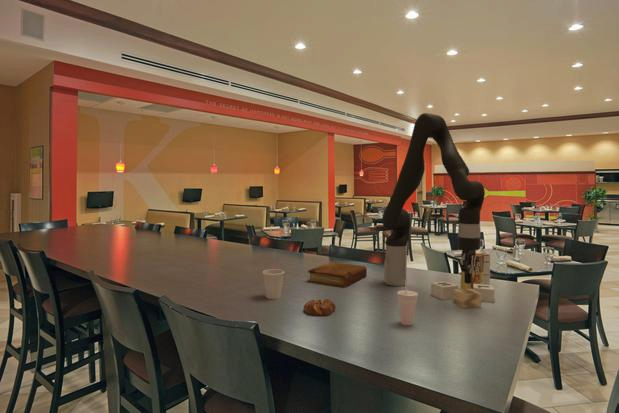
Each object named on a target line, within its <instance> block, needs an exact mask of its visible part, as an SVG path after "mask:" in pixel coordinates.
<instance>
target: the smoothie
mask: <svg viewBox="0 0 619 413" xmlns="http://www.w3.org/2000/svg"><path fill="white" fill-rule="evenodd" d="M397 297H398V306H399V307H398V308H399V315H400V324H401V325H404V324H405V325H404V326H413V325H414V320H415V312H416V306H417V299H418V298H419V293H418V292H417V291H414V290H413V291H412V290H409V289H408V279H407V278H406V279H405V285H404V290H403V289H402V290H398V291H397Z"/></svg>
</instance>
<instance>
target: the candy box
mask: <svg viewBox="0 0 619 413" xmlns="http://www.w3.org/2000/svg"><path fill="white" fill-rule="evenodd" d="M476 256H479V259H478V262H477V266H476V269H475V270H473V273H472V283H470V284H468V283H465V282H464V278H465V273H464V272H462V271H461V270H460V288H459V289H473V284H483V266H484V254H482V253H477V252H476Z"/></svg>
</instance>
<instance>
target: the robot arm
mask: <svg viewBox="0 0 619 413" xmlns="http://www.w3.org/2000/svg"><path fill="white" fill-rule="evenodd" d="M428 139H433V141H434V142H435V143H436V145H437V146H438V147H439V149H440V155H441V156H440V157H441V162H442V165H443V168H444V169H445V171H446V172H447V174H448V176H449V178H450V181H451V184H452V188H453V191H454V194H455V195H456V197H457V198H458V199H460V200H461V201H465V204H464V206H463V207H461V208H460V209H459V213H458V214H459V216H458V218H459V219H458V228H457V229H458V230H457V233H458V234H457V248H458V249H459V250H461V256H460V258H458V260H457V261H458V264H459V267H460V272H461V271H462V272H464V273H465V278H464V282H465V283H468V284H470V283H472V273H473V270H475V269H476V266H477V262H478V259H479V256H476V251H480V249H481V230H482V229H481V210H482V208H483V205H484V199H485V193H486V190H485V186H484V184H482V183H481V182H480V181H478V180H475V181H474V180H469V178H468V176H469V174H470V168H468V165H467V164H466V162H465V160H464V159H463V157H462V156H461V154H460V152H459V151H458V149H457V147H456V145H455V142H454V140H453V137H452V135H451V133H450V130H449V127H448V124H447V123H446V120H445V119H444V118H443V116H441V115H438V114H433V113H428V112H423V113H422V114H420V115H418V117H417V118H416V120H415V122H414V125H413V130H412V133H411V138H410V142H409V146H408V148H407V149H408V150H407V153H406V155H405V159H404V161H403V164H402V165H401V170H400V171H399V174H398V178H397V180H396V183H395V186H394V189H393V192H392V195H391V197H390V199H389V201H388V203H387V205H386V207H385V209H384V212H383V214H382V219H381V220H382V221H381V222H382V226H383V227H384V228H385V230H388V231H392V232H391V234H390V235H389V236H387V238H385V255H384V256H385V258H384V259H385V260H384V262H383V263H384V264H383V282H384V284H385V285H387V286H396V287H402V286H405V279H407V269H408V268H407V265H408V263H407V259H408V241H409V238H410V230H411V228H410V227H411V217H410V213H409V212H408V211H407V210H406V209H404V206H405V204H406V202H407V201H408V200H409V199H410V197H412V195H413V194H414V193H415V192H416V191H417V189H418V188H419V186H420V184H421V181H422V180H423V177H424V173H425V170H426V169H425V158H424V156H425V155H424V153H425V152H424V151H425V147H426V144H427V142H428Z"/></svg>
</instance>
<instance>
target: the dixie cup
mask: <svg viewBox="0 0 619 413" xmlns="http://www.w3.org/2000/svg"><path fill="white" fill-rule="evenodd" d="M262 274H263V275H262V276H263V283H264V289H265V297H266V299H268V300H278V299H281V297H282V292H283V291H282V289H283V282H284V275H285V271H284V270H282V269H279V268H278V269H276V268H275V269H274V268H271V269H265V270H263V271H262Z"/></svg>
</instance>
